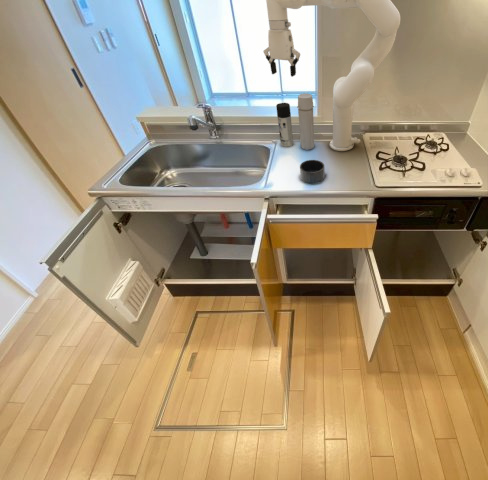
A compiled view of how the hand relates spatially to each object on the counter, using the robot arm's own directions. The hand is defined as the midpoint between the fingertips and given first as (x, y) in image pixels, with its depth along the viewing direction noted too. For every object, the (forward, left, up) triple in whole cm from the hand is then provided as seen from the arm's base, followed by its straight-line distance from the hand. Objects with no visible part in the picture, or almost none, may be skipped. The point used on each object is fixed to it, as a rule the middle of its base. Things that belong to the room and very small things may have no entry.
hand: (283, 74), depth 118 cm
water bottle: (-9, +2, -33) cm, 34 cm away
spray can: (+2, -1, -33) cm, 33 cm away
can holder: (-12, +31, -33) cm, 47 cm away
